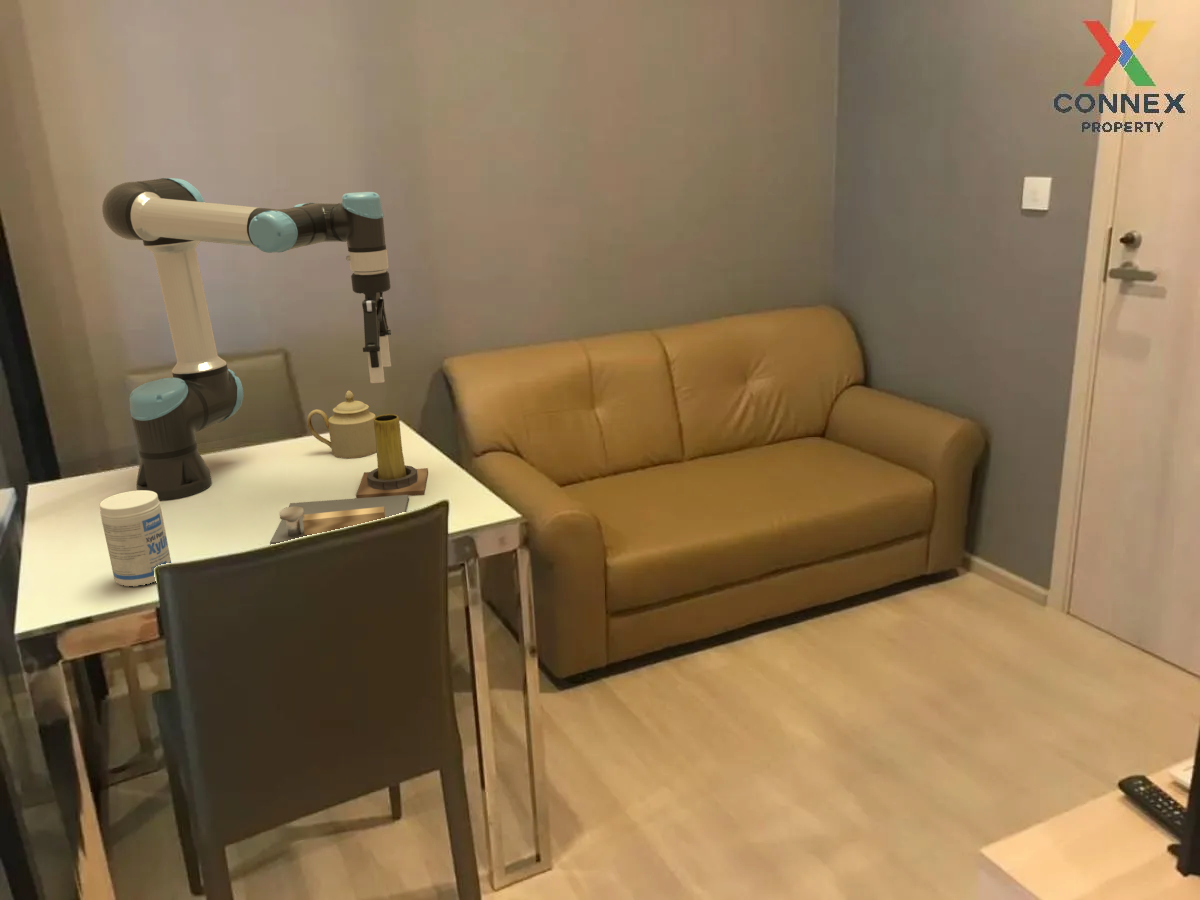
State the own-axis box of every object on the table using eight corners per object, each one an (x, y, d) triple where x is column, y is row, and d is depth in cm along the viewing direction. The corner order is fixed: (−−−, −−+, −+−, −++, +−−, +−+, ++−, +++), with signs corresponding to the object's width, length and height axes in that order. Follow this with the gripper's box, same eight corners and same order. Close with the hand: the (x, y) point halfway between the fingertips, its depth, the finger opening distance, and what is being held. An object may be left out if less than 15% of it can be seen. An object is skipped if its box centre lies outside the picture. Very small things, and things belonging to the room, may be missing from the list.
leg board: (270, 547, 188) (269, 542, 187) (291, 507, 206) (290, 503, 206) (400, 537, 190) (399, 532, 189) (408, 499, 208) (408, 494, 208)
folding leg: (281, 539, 188) (277, 516, 186) (283, 530, 192) (280, 507, 191) (385, 528, 191) (382, 505, 190) (385, 519, 195) (383, 497, 194)
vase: (410, 475, 219) (404, 413, 214) (402, 485, 213) (395, 421, 209) (383, 476, 220) (376, 413, 215) (374, 486, 214) (367, 422, 209)
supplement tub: (168, 584, 174) (152, 505, 169) (109, 592, 172) (92, 512, 167) (177, 561, 183) (162, 486, 178) (121, 568, 181) (105, 492, 176)
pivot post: (287, 537, 189) (284, 519, 188) (289, 532, 191) (286, 514, 190) (300, 536, 189) (297, 518, 188) (302, 531, 192) (299, 513, 190)
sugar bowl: (326, 465, 231) (318, 402, 226) (309, 454, 239) (301, 393, 235) (386, 451, 239) (380, 390, 234) (368, 440, 247) (361, 381, 243)
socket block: (356, 499, 209) (354, 486, 209) (364, 476, 223) (363, 464, 222) (424, 494, 211) (422, 482, 210) (428, 472, 224) (427, 460, 223)
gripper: (358, 263, 213) (369, 361, 220) (342, 282, 190) (355, 390, 197) (394, 262, 214) (404, 359, 221) (382, 280, 190) (393, 388, 197)
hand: (381, 374), depth 209 cm, fingers open, 13 cm apart
